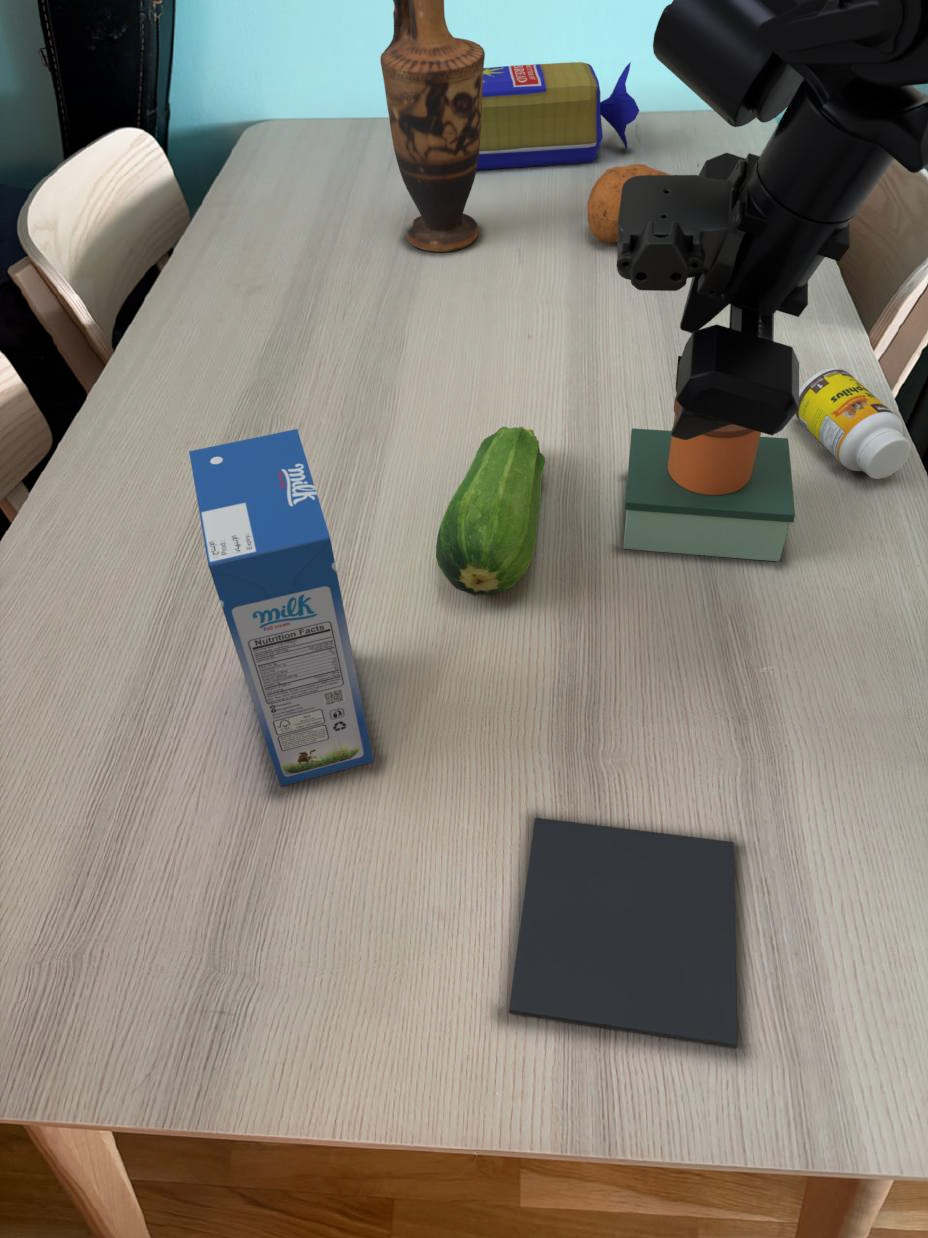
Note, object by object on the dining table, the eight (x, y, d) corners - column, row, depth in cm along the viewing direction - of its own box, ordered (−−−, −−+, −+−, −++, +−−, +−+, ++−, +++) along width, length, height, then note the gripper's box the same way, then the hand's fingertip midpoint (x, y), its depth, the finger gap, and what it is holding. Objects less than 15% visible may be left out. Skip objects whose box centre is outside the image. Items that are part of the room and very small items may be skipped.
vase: (507, 239, 114) (504, -69, 92) (429, 267, 110) (406, -47, 88) (455, 207, 120) (440, -88, 98) (380, 233, 116) (347, -68, 94)
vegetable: (446, 525, 67) (506, 369, 80) (408, 585, 72) (471, 429, 86) (539, 573, 68) (583, 411, 81) (495, 629, 73) (544, 468, 87)
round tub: (752, 445, 77) (766, 380, 73) (755, 500, 73) (770, 434, 68) (666, 440, 78) (675, 375, 74) (664, 493, 74) (673, 428, 69)
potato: (585, 217, 117) (588, 152, 111) (680, 216, 116) (688, 151, 110) (586, 253, 110) (589, 187, 105) (686, 253, 109) (695, 186, 104)
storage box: (776, 486, 81) (788, 437, 78) (782, 563, 75) (795, 514, 71) (626, 476, 83) (631, 427, 80) (620, 550, 77) (625, 502, 73)
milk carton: (373, 762, 64) (330, 537, 49) (280, 787, 63) (208, 565, 48) (343, 654, 71) (296, 427, 56) (258, 675, 70) (188, 449, 55)
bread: (441, 145, 133) (436, 62, 126) (622, 133, 133) (628, 49, 126) (444, 176, 126) (439, 91, 119) (635, 163, 126) (642, 77, 119)
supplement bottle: (856, 360, 84) (931, 426, 78) (835, 415, 88) (905, 482, 81) (801, 368, 83) (873, 436, 76) (782, 423, 87) (849, 492, 80)
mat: (732, 846, 59) (733, 841, 58) (736, 1048, 51) (737, 1045, 50) (535, 821, 61) (535, 817, 60) (508, 1013, 53) (508, 1010, 52)
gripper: (672, 26, 53) (580, 246, 67) (646, 264, 44) (546, 462, 58) (859, 89, 54) (731, 292, 68) (869, 333, 46) (721, 510, 59)
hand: (682, 381), depth 63 cm, fingers open, 9 cm apart
